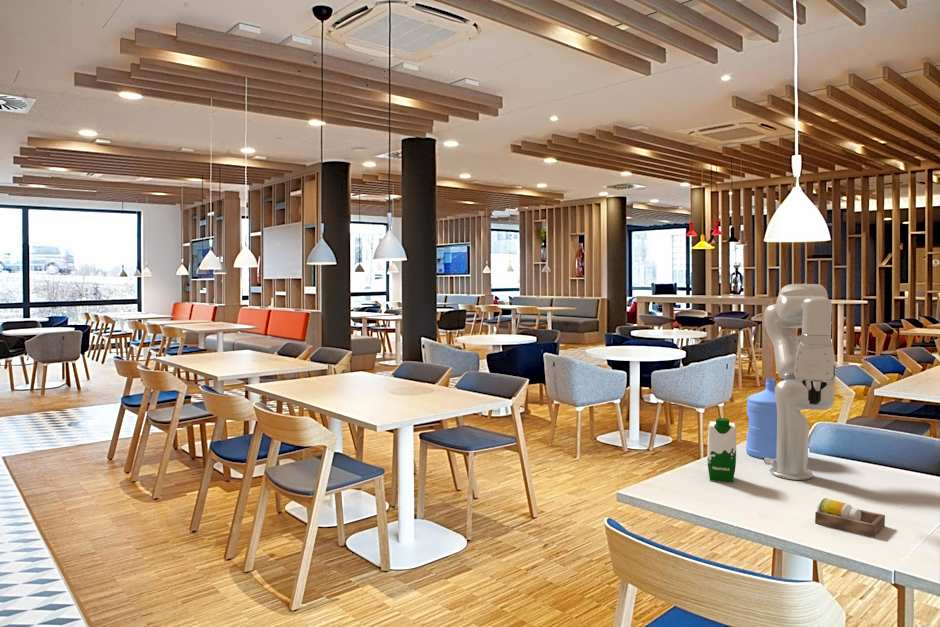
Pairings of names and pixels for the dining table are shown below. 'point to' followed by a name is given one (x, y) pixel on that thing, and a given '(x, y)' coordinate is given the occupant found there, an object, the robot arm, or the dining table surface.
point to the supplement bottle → (838, 509)
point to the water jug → (762, 422)
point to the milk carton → (721, 450)
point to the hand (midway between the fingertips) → (814, 403)
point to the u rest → (853, 522)
